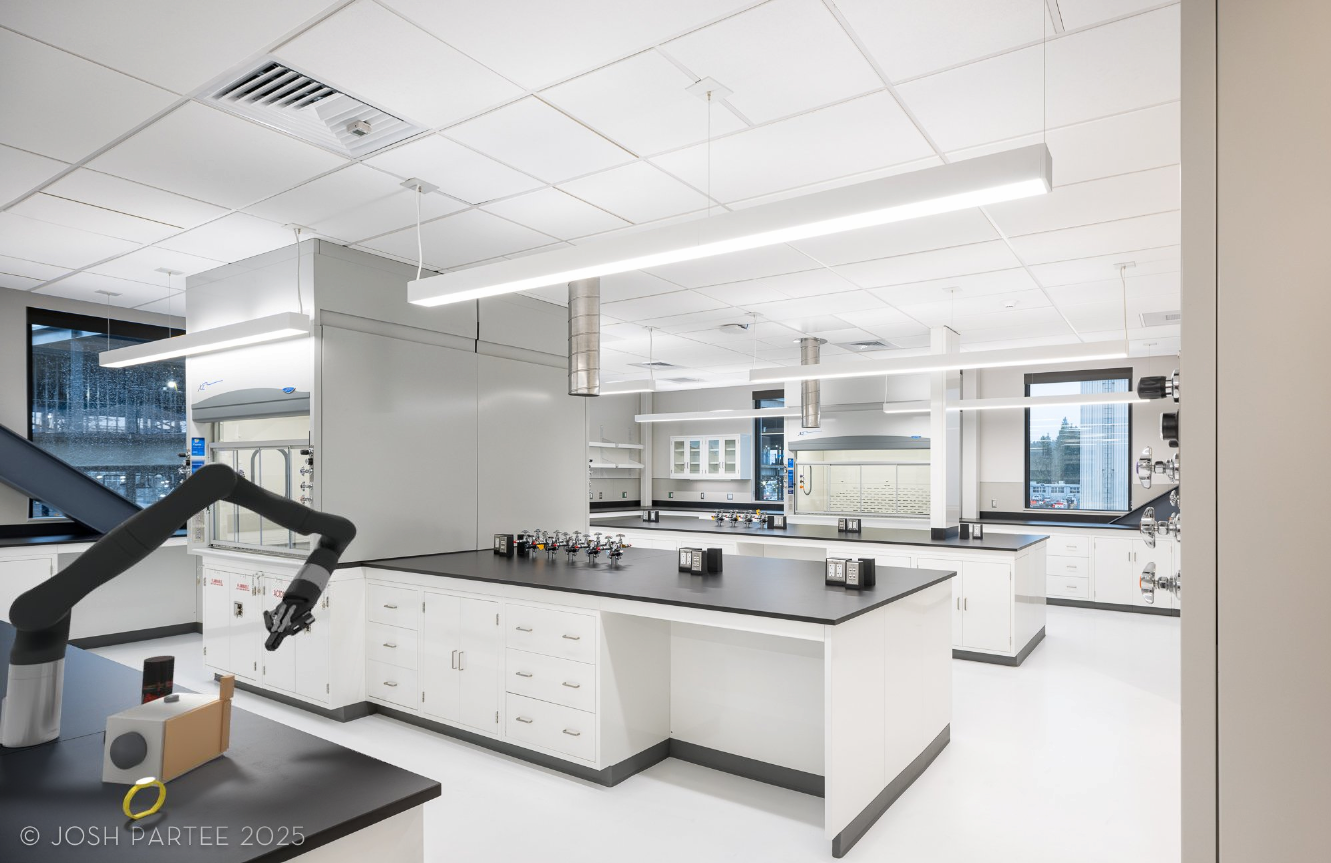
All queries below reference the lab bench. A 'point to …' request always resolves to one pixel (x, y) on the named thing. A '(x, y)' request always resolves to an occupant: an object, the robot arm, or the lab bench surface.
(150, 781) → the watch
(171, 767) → the side door
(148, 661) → the deodorant
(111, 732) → the box
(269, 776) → the lab bench surface
